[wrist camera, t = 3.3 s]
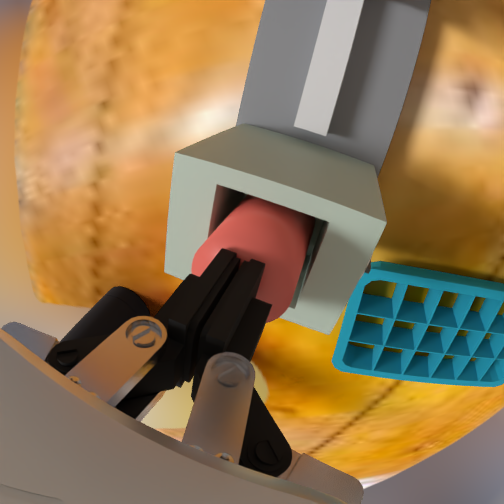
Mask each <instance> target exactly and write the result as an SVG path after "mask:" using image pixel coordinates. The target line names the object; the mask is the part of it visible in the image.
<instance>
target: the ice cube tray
mask: <svg viewBox="0 0 504 504" xmlns="http://www.w3.org/2000/svg"><path fill="white" fill-rule="evenodd" d="M376 280H383V281H389V282H395V283H397V284H396V287H395V290H394V293H393V296H392V298H387V297H381V296H375V295H369V294H364V293H363V290H364V286H365V285H367V284H368V283H369V282H371V281H376ZM408 285H412V286H418V287H424V288H429V290H428V293H427V295H426V298H425V300H424V303H418V302H411V301H405V300H403V298H404V295H405V292H406V289H407V286H408ZM443 291H448V292H454V293H459V294H458V296H457V299H456V301H455V303H454V305H453V308H449V307H443V306H437V305H438V303H439V301H440V298H441V296H442V294H443ZM475 296H478V297H483V298H485V300H484V302H483V304H482V306H481V308H480V310H479V312H476V311H469V309H470V307H471V305H472V303H473V301H474V299H475ZM503 301H504V283H498V282H493V281H488V280H483V279H477V278H472V277H467V276H461V275H456V274H450V273H445V272H439V271H434V270H428V269H423V268H417V267H412V266H406V265H401V264H395V263H389V262H384V261H377V262H371V270H370V272H369V274H367V273H365V272H364V274H363V275H362V277H361V278H360V280H359V281H358V283H357V285H356V287H355V289H354V291H353V293H352V295H351V296H350V298H349V300H348V304H347V308H346V312H345V316H344V319H343V323H342V327H341V330H340V334H339V337H338V341H337V344H336V348H335V351H334V355H333V358H332V363H333V365H334V367H335V368H336V369H338V370H340V371H343V372H349V373H355V374H361V375H368V376H375V377H382V378H390V379H398V380H406V381H415V382H425V383H436V384H448V385H462V386H481V387H496V386H499V385H502V384H504V313H503V315H497V313H498V311H499V309H500V307H501V305H502V303H503ZM357 314H361V315H367V316H373V317H379V318H385V319H384V322H383V325H381V324H375V323H368V322H362V321H356V320H355V318H356V315H357ZM395 320H398V321H404V322H411V323H415V324H414V326H413V329H407V328H400V327H394V326H393V324H394V322H395ZM428 325H431V326H438V327H443V328H442V330H441V332H440V333H435V332H428V331H426V330H427V327H428ZM459 329H461V330H468V333H467V335H466V336H458V335H456V334H457V332H458V331H459ZM486 333H492V334H491V336H490V338H489V339H483V338H484V336H485V335H486ZM349 341H352V342H358V343H364V344H370V345H374V348H373V349H369V348H363V347H357V346H354V345H352V344H350V343H349ZM384 347H390V348H397V349H403V350H402V352H401V353H396V352H389V351H383V348H384ZM416 351H419V352H427V353H429V355H428V356H419V355H414V354H415V352H416ZM444 355H453V356H454V357H453V358H452V359H445V358H443V357H444ZM471 357H474V358H476V360H475V361H469V360H470V359H471ZM495 359H496V360H495Z"/></svg>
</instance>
